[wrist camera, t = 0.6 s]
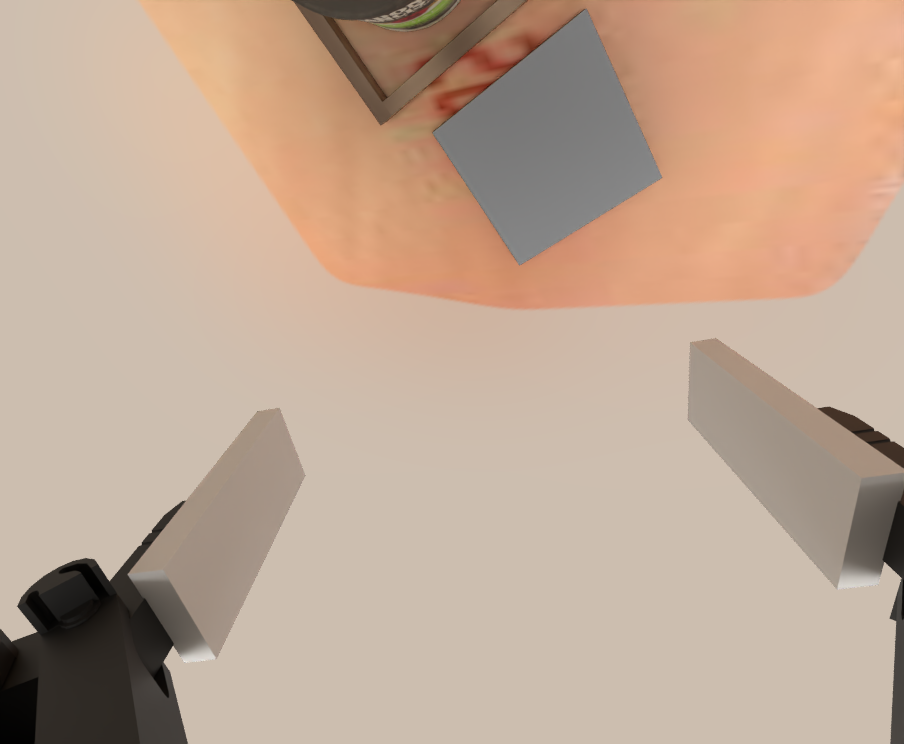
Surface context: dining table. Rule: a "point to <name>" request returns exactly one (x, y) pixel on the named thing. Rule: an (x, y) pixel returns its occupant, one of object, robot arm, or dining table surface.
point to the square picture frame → (423, 77)
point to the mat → (550, 142)
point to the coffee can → (385, 11)
